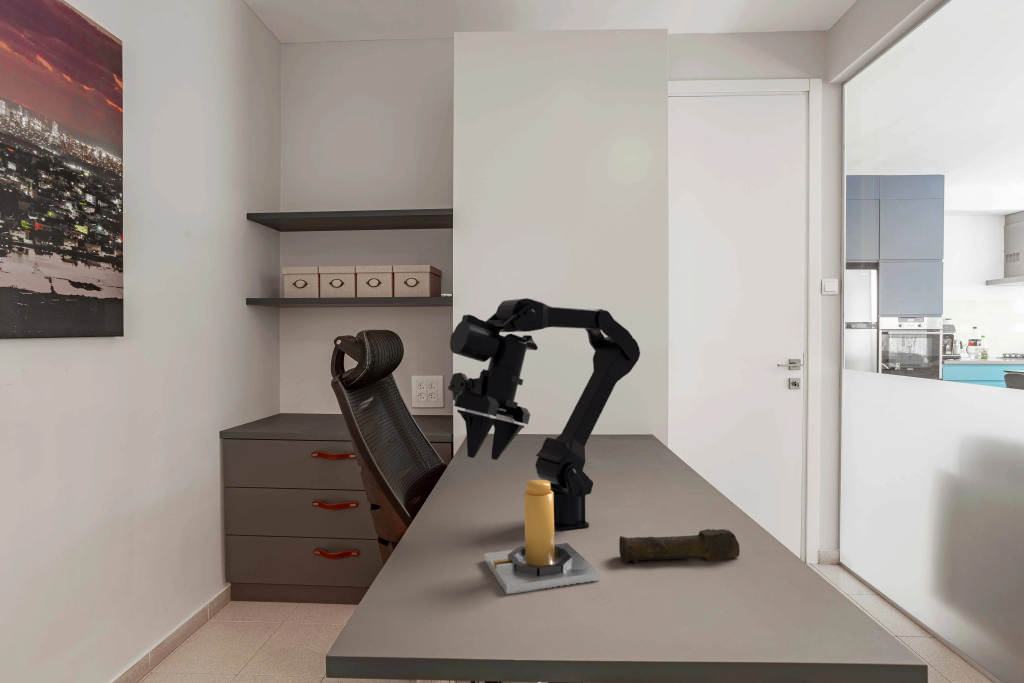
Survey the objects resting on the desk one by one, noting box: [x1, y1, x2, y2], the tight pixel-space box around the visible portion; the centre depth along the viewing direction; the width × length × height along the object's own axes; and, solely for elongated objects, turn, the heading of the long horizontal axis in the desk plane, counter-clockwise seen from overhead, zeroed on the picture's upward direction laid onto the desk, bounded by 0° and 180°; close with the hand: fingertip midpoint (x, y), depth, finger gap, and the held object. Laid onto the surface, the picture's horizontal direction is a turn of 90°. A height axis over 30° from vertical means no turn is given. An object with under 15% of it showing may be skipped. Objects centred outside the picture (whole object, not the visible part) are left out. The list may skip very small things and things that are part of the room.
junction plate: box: [484, 542, 601, 595], centre depth 85 cm, size 14×12×2 cm
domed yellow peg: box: [523, 479, 555, 566], centre depth 85 cm, size 4×4×12 cm
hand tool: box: [618, 529, 741, 564], centre depth 89 cm, size 19×4×5 cm, turn 91°
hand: (482, 458), depth 96 cm, fingers open, 9 cm apart
